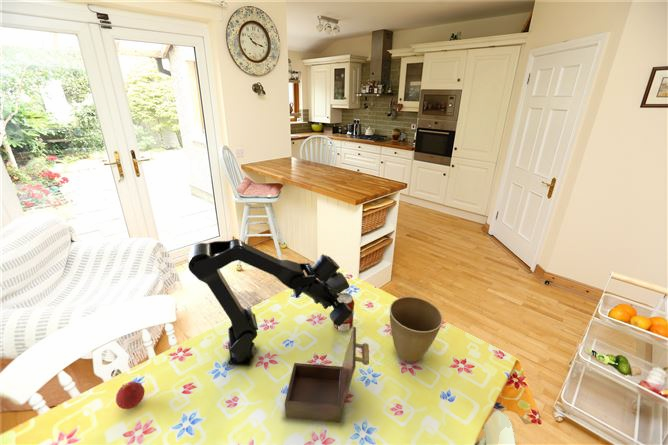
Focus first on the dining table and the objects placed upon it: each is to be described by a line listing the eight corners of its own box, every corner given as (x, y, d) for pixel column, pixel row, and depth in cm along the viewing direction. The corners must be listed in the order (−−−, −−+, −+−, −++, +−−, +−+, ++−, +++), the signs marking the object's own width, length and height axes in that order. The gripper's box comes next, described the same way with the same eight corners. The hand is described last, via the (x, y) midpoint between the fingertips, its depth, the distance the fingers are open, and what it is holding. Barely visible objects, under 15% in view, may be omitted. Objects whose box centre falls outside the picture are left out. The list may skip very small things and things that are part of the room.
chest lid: (352, 366, 63) (371, 370, 63) (353, 326, 73) (369, 330, 73) (339, 407, 68) (357, 410, 68) (342, 365, 79) (357, 368, 79)
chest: (285, 417, 72) (284, 403, 70) (295, 376, 82) (294, 362, 80) (340, 422, 71) (341, 408, 69) (342, 379, 81) (343, 366, 79)
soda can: (351, 334, 96) (352, 305, 91) (331, 331, 97) (331, 302, 92) (353, 320, 102) (355, 292, 97) (335, 317, 103) (336, 289, 98)
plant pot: (414, 383, 81) (422, 340, 74) (375, 349, 91) (379, 309, 85) (443, 355, 89) (453, 315, 83) (404, 328, 100) (410, 290, 93)
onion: (142, 390, 78) (134, 368, 74) (151, 403, 74) (143, 382, 71) (117, 406, 74) (107, 384, 70) (125, 421, 70) (115, 399, 67)
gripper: (346, 288, 81) (377, 309, 89) (323, 256, 97) (351, 277, 105) (320, 317, 81) (353, 336, 90) (300, 280, 97) (330, 299, 105)
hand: (347, 309), depth 97 cm, fingers closed on soda can, 7 cm apart
